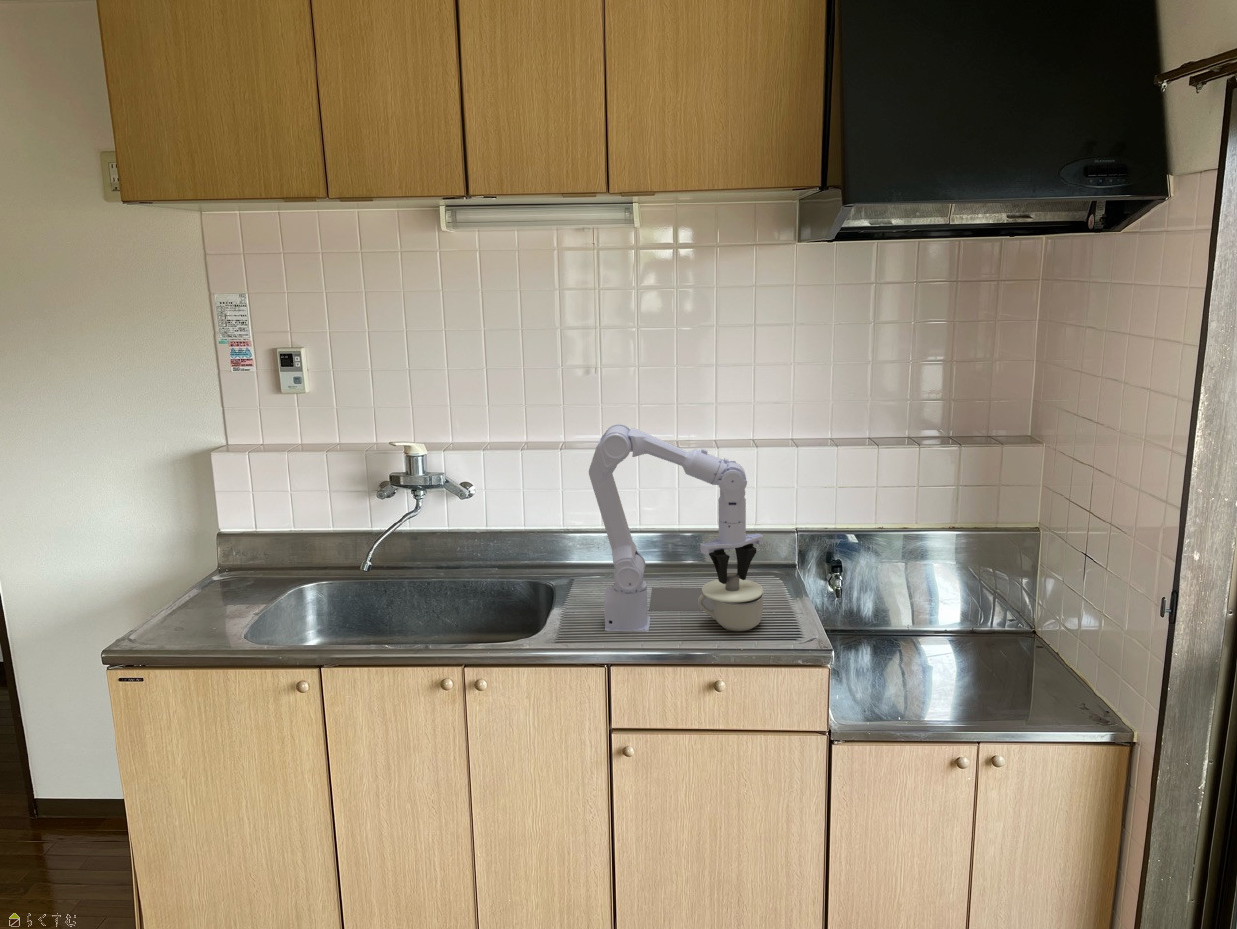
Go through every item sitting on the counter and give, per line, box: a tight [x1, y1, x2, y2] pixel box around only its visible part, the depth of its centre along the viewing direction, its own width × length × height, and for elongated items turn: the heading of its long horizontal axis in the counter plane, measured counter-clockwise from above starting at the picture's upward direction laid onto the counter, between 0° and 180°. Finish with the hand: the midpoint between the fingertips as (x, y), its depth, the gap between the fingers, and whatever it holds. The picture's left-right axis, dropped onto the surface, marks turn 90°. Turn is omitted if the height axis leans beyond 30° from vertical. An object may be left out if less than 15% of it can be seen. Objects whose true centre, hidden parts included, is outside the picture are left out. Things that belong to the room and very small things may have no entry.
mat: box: [648, 587, 714, 612], centre depth 215 cm, size 15×15×1 cm
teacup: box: [698, 593, 765, 632], centre depth 198 cm, size 14×11×8 cm
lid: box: [701, 572, 764, 602], centre depth 197 cm, size 13×13×4 cm
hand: (732, 580), depth 197 cm, fingers open, 4 cm apart
